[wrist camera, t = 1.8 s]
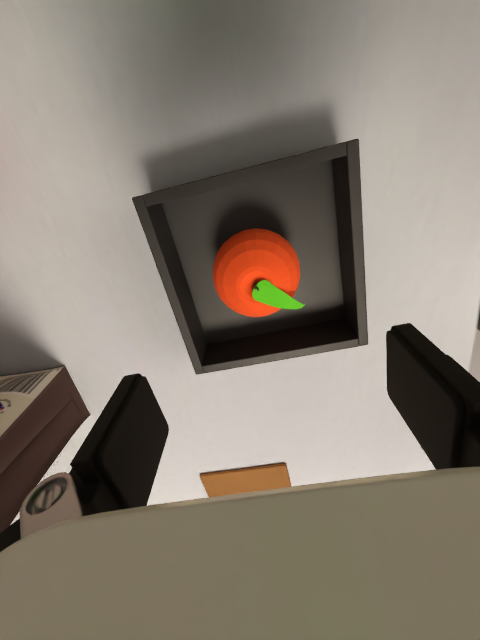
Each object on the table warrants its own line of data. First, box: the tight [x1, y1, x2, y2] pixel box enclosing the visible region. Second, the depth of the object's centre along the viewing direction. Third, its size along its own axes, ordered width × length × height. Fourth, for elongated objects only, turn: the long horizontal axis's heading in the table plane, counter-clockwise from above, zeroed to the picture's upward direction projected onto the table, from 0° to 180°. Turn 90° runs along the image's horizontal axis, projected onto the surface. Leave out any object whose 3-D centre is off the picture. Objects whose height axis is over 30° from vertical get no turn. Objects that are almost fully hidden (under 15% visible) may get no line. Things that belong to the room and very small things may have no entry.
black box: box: [132, 139, 368, 374], centre depth 25 cm, size 16×16×5 cm
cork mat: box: [200, 463, 291, 497], centre depth 41 cm, size 12×6×1 cm, turn 103°
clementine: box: [213, 228, 305, 317], centre depth 23 cm, size 8×7×7 cm
